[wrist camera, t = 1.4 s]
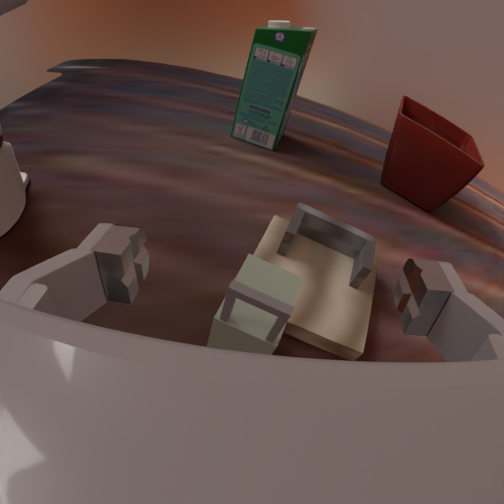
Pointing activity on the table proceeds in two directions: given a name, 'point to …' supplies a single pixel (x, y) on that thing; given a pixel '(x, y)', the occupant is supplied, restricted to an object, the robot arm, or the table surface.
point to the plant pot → (428, 157)
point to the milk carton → (271, 82)
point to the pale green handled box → (255, 308)
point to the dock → (325, 278)
